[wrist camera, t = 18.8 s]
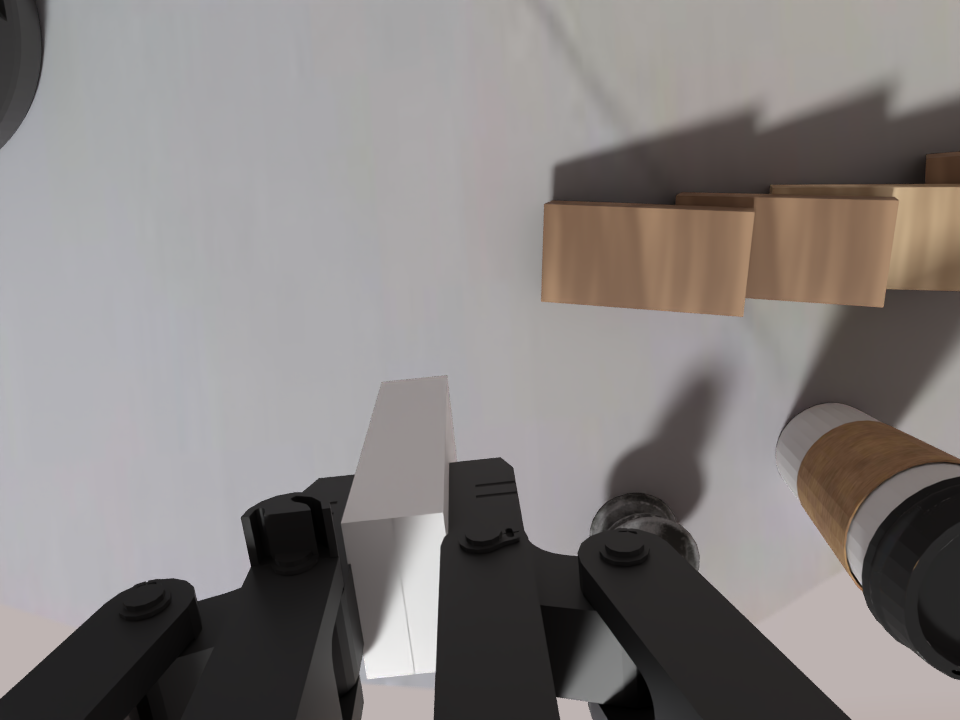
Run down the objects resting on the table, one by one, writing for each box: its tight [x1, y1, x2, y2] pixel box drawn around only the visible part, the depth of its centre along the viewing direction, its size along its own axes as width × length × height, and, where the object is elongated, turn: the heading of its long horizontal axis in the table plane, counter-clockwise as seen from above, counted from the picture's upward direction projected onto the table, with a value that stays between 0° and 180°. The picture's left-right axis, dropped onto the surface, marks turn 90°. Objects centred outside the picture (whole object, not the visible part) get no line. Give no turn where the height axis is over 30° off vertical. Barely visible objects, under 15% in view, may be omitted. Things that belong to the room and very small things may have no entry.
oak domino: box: [769, 184, 960, 291], centre depth 39 cm, size 2×5×10 cm
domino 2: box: [675, 192, 899, 307], centre depth 38 cm, size 2×5×10 cm
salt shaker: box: [590, 493, 700, 571], centre depth 40 cm, size 6×6×12 cm
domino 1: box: [541, 200, 755, 317], centre depth 39 cm, size 2×5×10 cm
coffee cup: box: [776, 403, 960, 680], centre depth 38 cm, size 8×8×15 cm
